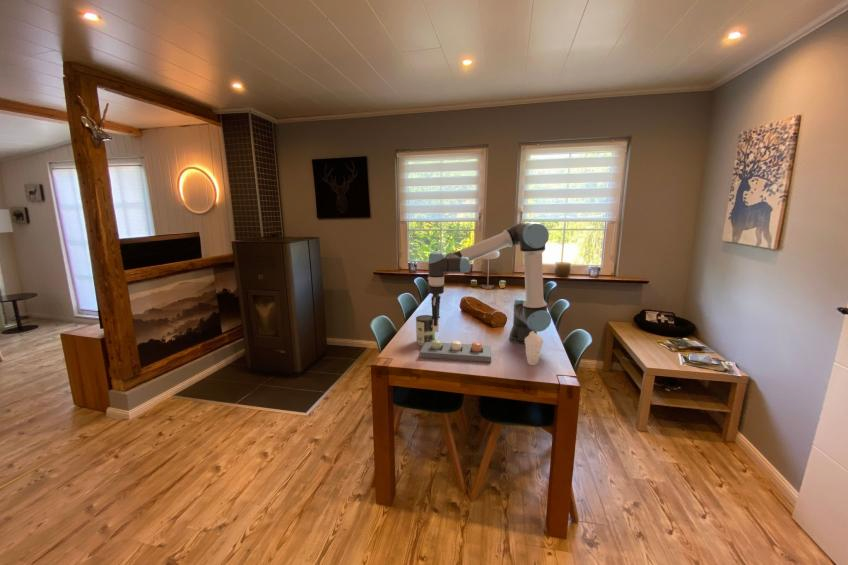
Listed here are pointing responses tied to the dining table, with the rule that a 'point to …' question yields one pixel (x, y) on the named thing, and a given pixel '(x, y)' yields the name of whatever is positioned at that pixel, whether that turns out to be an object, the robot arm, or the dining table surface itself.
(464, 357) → the button panel
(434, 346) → the sage button
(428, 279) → the robot arm
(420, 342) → the coffee can
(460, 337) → the dining table surface
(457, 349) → the cream button
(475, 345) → the terracotta button
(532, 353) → the soft serve ice cream cone
